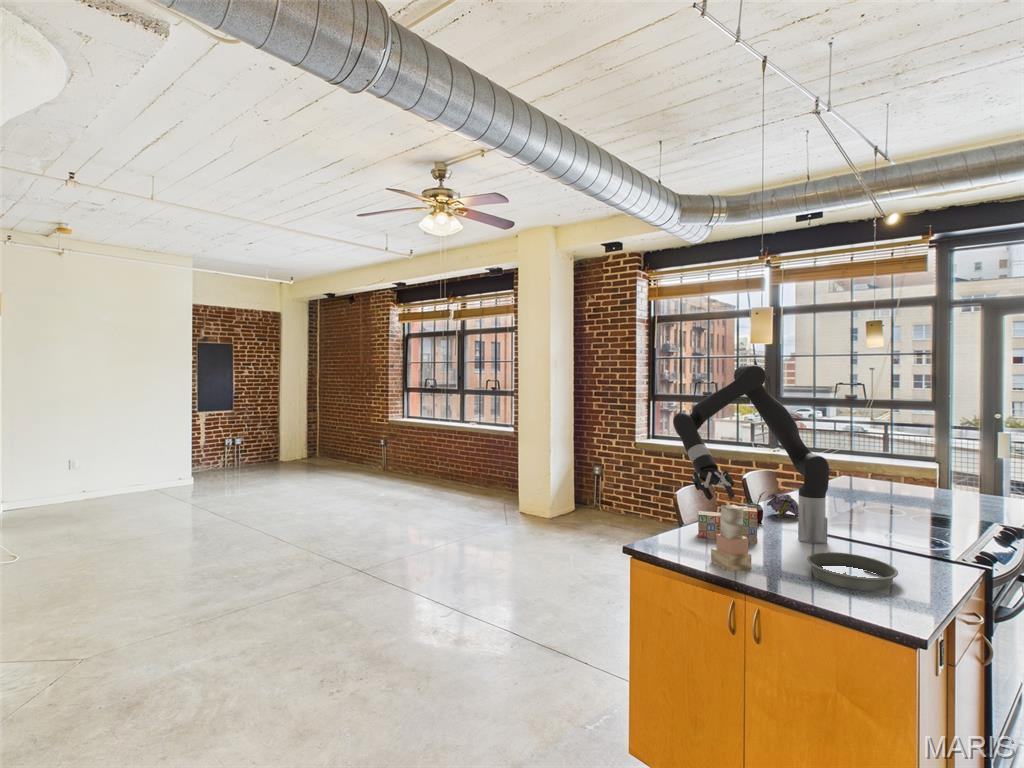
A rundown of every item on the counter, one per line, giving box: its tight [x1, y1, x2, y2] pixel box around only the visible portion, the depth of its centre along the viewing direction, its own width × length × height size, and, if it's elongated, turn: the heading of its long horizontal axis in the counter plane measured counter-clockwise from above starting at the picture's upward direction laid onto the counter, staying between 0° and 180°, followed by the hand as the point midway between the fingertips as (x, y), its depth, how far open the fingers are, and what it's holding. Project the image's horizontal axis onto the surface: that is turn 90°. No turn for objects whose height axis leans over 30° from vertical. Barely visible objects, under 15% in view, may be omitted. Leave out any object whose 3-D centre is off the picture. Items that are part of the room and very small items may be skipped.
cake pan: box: [806, 551, 899, 591], centre depth 177 cm, size 25×25×4 cm
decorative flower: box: [766, 492, 799, 519], centre depth 252 cm, size 14×12×15 cm
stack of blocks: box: [697, 505, 758, 544], centre depth 219 cm, size 21×6×12 cm, turn 70°
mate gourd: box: [745, 490, 767, 525], centre depth 240 cm, size 8×8×15 cm
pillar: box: [720, 504, 743, 539], centre depth 188 cm, size 5×5×10 cm
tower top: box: [716, 534, 749, 555], centre depth 188 cm, size 7×7×5 cm
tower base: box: [710, 547, 752, 572], centre depth 188 cm, size 9×9×5 cm
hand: (721, 498), depth 192 cm, fingers open, 8 cm apart
